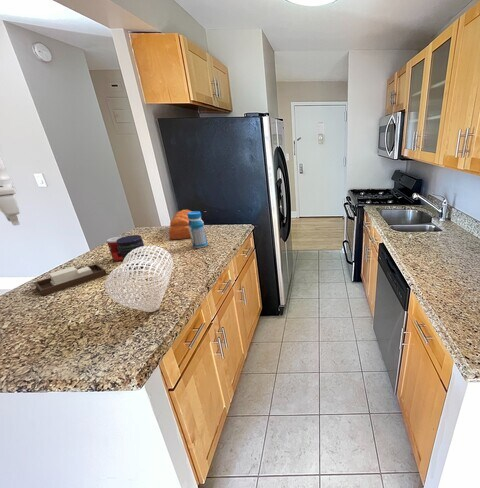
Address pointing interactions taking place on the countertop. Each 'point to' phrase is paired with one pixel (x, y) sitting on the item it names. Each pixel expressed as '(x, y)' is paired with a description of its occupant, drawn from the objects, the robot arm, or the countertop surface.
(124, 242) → the storage jar
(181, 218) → the bread
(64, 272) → the white block
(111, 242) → the canned food
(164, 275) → the white mesh basket
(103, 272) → the tray
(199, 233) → the beverage bottle
